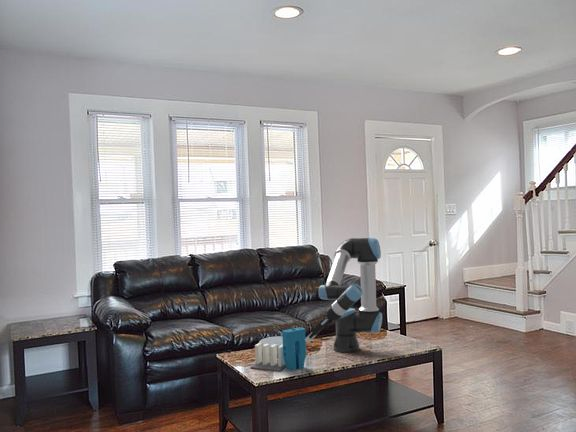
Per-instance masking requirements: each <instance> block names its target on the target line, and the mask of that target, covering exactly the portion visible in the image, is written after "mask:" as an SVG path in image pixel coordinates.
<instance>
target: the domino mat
mask: <svg viewBox="0 0 576 432" xmlns="http://www.w3.org/2000/svg"><path fill="white" fill-rule="evenodd" d="M249 368H250V370H251V369H252V370H262V371H270V372H281V371H282V372H283V370H285V369H286V366H285V364H284V365H283V366H282V367H279V366H278V359H277V364H275V365H274V366H271V359H270V363H268V364H267V365H263V358H262V362H261V363H259V364H255V363H254V364H253V365H251V366H250V367H249Z"/></svg>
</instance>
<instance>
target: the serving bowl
mask: <svg viewBox="0 0 576 432" xmlns="http://www.w3.org/2000/svg"><path fill="white" fill-rule="evenodd" d="M258 343H262V346H263V345H265V344H269V352H270V346H272V345H274V344H277V355H278V347H279V346H281V345H283V337H282V336H281V335H279V336H278V335H277V336H269V337H265V338H262V339H261V340H259V342H258ZM262 351H263V348H262Z"/></svg>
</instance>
